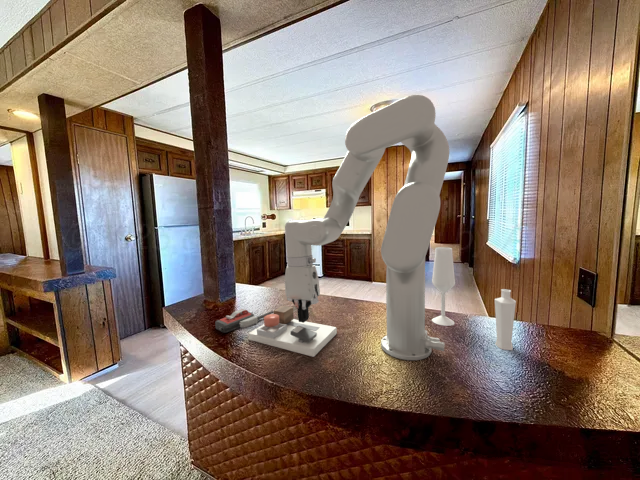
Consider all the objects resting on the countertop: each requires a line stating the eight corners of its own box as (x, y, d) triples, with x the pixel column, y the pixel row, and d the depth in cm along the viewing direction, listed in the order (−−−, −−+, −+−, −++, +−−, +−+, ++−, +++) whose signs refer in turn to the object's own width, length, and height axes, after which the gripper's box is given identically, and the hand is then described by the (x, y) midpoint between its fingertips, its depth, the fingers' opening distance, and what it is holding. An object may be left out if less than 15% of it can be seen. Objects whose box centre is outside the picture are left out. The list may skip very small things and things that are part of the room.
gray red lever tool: (226, 337, 77) (275, 316, 93) (225, 323, 77) (274, 304, 93) (211, 330, 83) (260, 311, 98) (210, 317, 82) (259, 300, 98)
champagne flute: (458, 321, 82) (459, 247, 80) (449, 327, 78) (449, 250, 75) (437, 315, 87) (438, 246, 85) (427, 321, 83) (428, 248, 81)
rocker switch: (316, 336, 70) (317, 332, 70) (309, 342, 66) (309, 338, 66) (298, 328, 72) (298, 325, 72) (290, 334, 69) (290, 330, 69)
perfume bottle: (506, 352, 63) (508, 293, 62) (490, 344, 67) (491, 289, 66) (520, 349, 64) (522, 291, 63) (503, 341, 68) (505, 287, 67)
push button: (282, 321, 75) (282, 315, 75) (273, 327, 71) (272, 320, 71) (270, 319, 77) (270, 313, 77) (261, 325, 74) (260, 318, 73)
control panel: (336, 333, 76) (336, 322, 76) (313, 356, 64) (313, 343, 64) (278, 321, 87) (277, 311, 87) (249, 339, 75) (248, 328, 74)
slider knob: (293, 319, 82) (293, 307, 82) (284, 325, 78) (283, 312, 78) (283, 317, 84) (283, 305, 84) (274, 322, 80) (273, 310, 80)
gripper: (327, 260, 76) (330, 319, 77) (286, 258, 83) (290, 313, 84) (315, 264, 69) (319, 329, 71) (272, 263, 76) (276, 321, 78)
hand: (303, 320), depth 78 cm, fingers closed
